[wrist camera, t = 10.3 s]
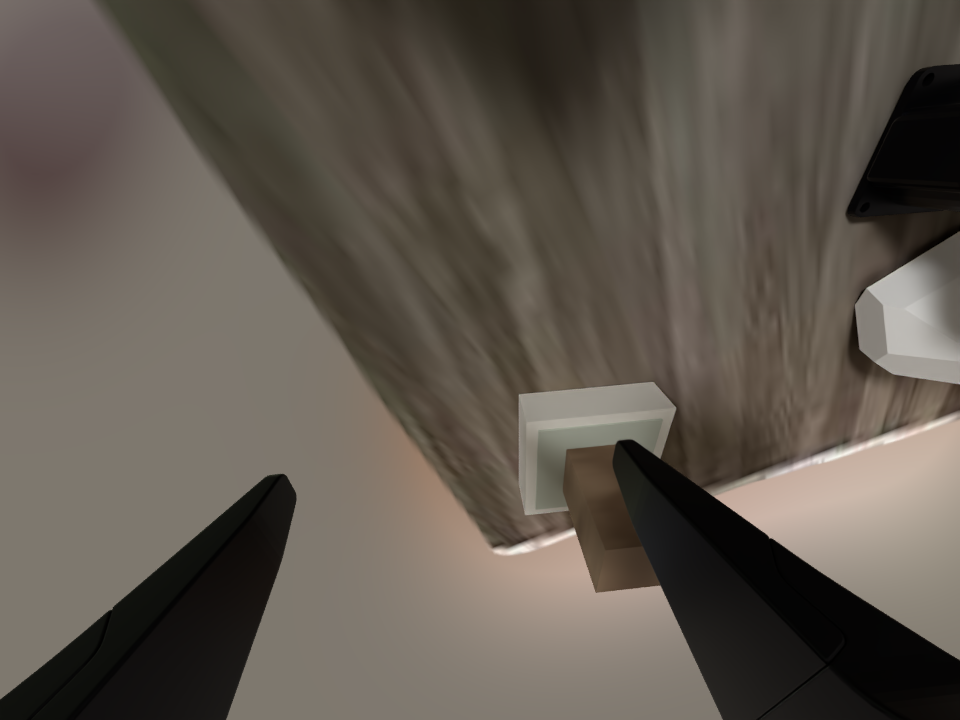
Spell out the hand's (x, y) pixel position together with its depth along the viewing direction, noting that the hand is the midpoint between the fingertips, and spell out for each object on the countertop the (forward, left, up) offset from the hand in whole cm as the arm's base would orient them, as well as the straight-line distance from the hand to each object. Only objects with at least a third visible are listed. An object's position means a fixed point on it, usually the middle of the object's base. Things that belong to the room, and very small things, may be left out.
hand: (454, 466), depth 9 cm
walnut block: (-9, +13, -10) cm, 19 cm away
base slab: (-9, +13, -13) cm, 20 cm away
